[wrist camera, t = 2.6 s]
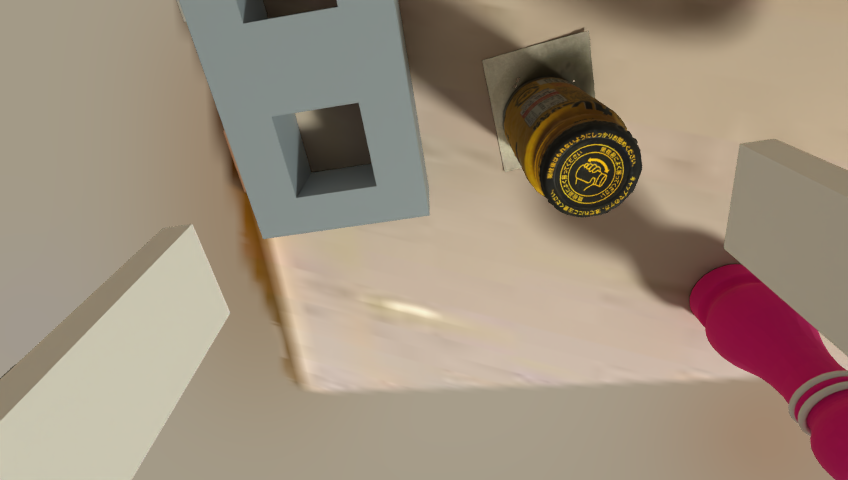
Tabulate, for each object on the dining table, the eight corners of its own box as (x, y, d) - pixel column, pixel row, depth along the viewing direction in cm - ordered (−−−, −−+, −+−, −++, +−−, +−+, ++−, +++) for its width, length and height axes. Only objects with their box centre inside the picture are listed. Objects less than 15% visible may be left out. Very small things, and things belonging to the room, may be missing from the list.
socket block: (163, -123, 28) (115, -143, 24) (371, -165, 28) (361, -194, 23) (274, 211, 39) (255, 240, 34) (428, 188, 38) (429, 215, 33)
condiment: (504, 171, 37) (536, 245, 27) (481, 59, 33) (509, 94, 23) (599, 147, 36) (671, 214, 26) (587, 29, 32) (666, 51, 22)
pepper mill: (669, 320, 44) (836, 546, 26) (704, 252, 40) (921, 459, 23) (743, 330, 44) (955, 558, 27) (783, 264, 41) (1055, 475, 23)
